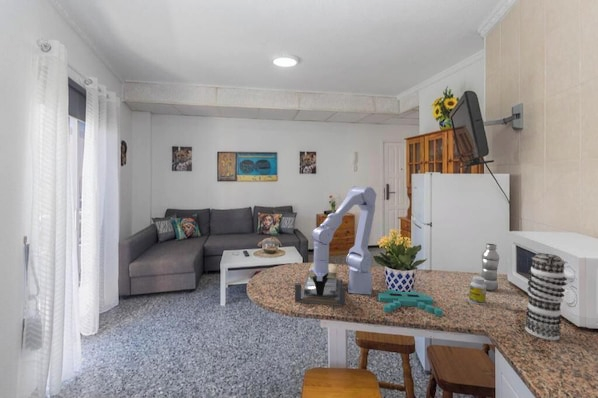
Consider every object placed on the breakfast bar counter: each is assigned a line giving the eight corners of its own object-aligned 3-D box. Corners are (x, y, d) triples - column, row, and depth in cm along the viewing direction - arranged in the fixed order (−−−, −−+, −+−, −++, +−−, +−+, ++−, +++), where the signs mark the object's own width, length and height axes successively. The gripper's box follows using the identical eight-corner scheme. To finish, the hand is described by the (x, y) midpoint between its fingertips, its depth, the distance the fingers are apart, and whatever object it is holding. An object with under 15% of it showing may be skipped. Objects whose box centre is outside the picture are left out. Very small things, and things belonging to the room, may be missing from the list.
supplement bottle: (465, 300, 116) (467, 276, 115) (475, 298, 117) (477, 274, 117) (478, 305, 110) (480, 280, 110) (488, 303, 112) (490, 279, 112)
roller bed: (344, 279, 136) (344, 266, 136) (344, 305, 108) (345, 288, 108) (303, 276, 139) (304, 263, 138) (294, 301, 111) (295, 285, 111)
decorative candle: (542, 341, 87) (549, 259, 85) (516, 325, 96) (522, 251, 94) (569, 340, 88) (577, 259, 86) (541, 324, 97) (547, 251, 95)
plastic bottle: (494, 293, 123) (498, 247, 121) (476, 288, 128) (479, 244, 126) (499, 290, 127) (503, 245, 125) (482, 285, 132) (485, 242, 130)
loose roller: (304, 297, 113) (304, 287, 112) (305, 293, 117) (305, 283, 116) (335, 300, 111) (335, 289, 110) (335, 295, 115) (336, 286, 114)
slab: (336, 269, 135) (337, 264, 135) (336, 278, 123) (336, 272, 123) (311, 268, 137) (311, 262, 137) (308, 276, 125) (308, 270, 125)
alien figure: (442, 317, 102) (423, 294, 122) (442, 311, 102) (424, 289, 122) (384, 313, 104) (375, 291, 124) (384, 307, 104) (375, 286, 124)
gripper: (312, 253, 120) (312, 285, 121) (308, 263, 106) (308, 299, 107) (329, 254, 119) (329, 286, 120) (328, 264, 105) (327, 301, 106)
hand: (320, 292), depth 113 cm, fingers closed on loose roller, 4 cm apart
